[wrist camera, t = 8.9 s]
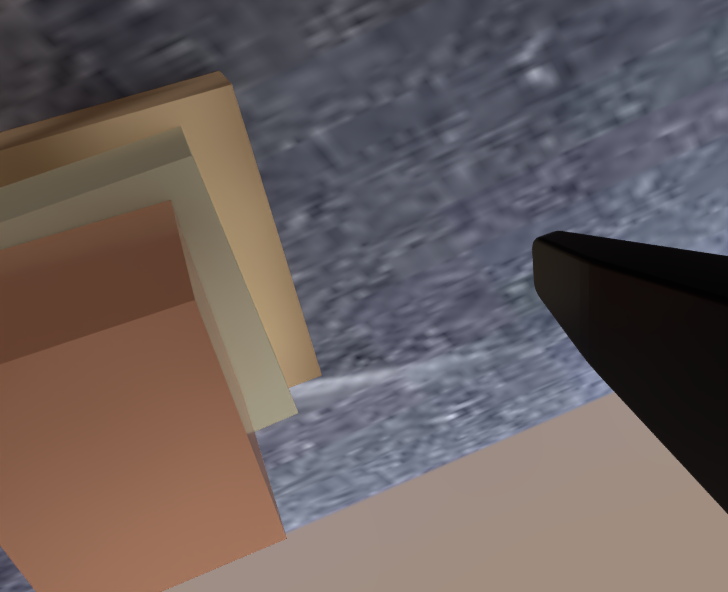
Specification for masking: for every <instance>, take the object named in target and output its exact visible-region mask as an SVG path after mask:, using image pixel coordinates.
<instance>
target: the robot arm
mask: <svg viewBox="0 0 728 592" xmlns="http://www.w3.org/2000/svg"><path fill="white" fill-rule="evenodd" d="M532 255H533V274H534V285H535V289H536V292H537V294H538V296H539V297H540V299H541V300H542V301H543V303H544V304H545V305H546V307H547V308H548V310H549V311H550V312H551V314H552V315H553V316H554V318H555V319H556V320H557V322H558V323H559V325H560V326H561V327H562V329H563V330H564V331H565V333H566V334H567V335H568V337H569V338H570V340H571V341H572V342H573V344H574V345H575V346H576V348H577V349H578V350H579V352H580V353H581V354H582V356H583V357H584V358H585V360H586V361H587V362H588V363H589V364H590V366H591V367H592V368H593V369H594V370H595V371H596V372H597V374H598V375H599V376H600V377H601V378H602V379H603V380H604V381H605V382H606V383H607V384H608V385H609V386H610V388H611V389H612V390H613V391H614V392H615V393H616V394H617V395H618V396H619V397H620V398H621V399H622V401H624V403H625V404H626V405H627V406H628V407H629V408H630V409H631V410H632V411H633V412H634V413H635V414H636V416H637V417H638V418H639V419H640V420H641V421H642V422H643V423H644V424H645V425H646V426H647V427H648V428H649V429H650V431H651V432H652V433H654V435H655V436H656V437H657V438H658V439H659V440H660V441H661V443H662V444H663V445H664V446H665V447H666V448H667V449H668V450H669V451H670V452H671V453H672V454H673V455H674V456H675V457H676V459H677V460H678V461H679V462H680V463H681V464H682V465H683V466H684V467H685V468H686V469H687V470H688V472H689V473H690V474H691V475H692V476H693V477H694V478H695V479H696V480H697V481H698V482H699V484H701V486H702V487H703V488H704V489H705V490H706V491H707V492H708V493H709V494H710V495H711V496H712V497H713V499H714V500H715V501H716V502H717V503H718V504H719V505H720V506H721V507H722V508H723V509H724V510H725V512H726V513H727V514H728V256H724V255H717V254H711V253H704V252H698V251H691V250H684V249H678V248H671V247H664V246H658V245H651V244H645V243H638V242H631V241H625V240H618V239H611V238H605V237H598V236H592V235H585V234H578V233H572V232H565V231H554V232H551V233H549V234H546V235H543V236H540V237H538V238H536V239H535V241H534V242H533V246H532Z"/></svg>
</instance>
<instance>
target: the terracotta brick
mask: <svg viewBox="0 0 728 592" xmlns="http://www.w3.org/2000/svg"><path fill="white" fill-rule="evenodd" d="M285 539H287V538H286V534H285V531H284V528H283V524H282V521H281V518H280V514H279V511H278V508H277V504H276V501H275V498H274V495H273V491H272V488H271V485H270V481H269V478H268V475H267V471H266V468H265V465H264V462H263V458H262V455H261V452H260V448H259V445H258V442H257V438H256V435H255V432H254V429H253V425H252V422H251V419H250V415H249V412H248V409H247V405H246V402H245V399H244V396H243V393H242V391H241V388H240V385H239V383H238V380H237V377H236V375H235V372H234V369H233V367H232V364H231V361H230V358H229V356H228V353H227V350H226V348H225V345H224V342H223V340H222V337H221V334H220V332H219V329H218V326H217V323H216V321H215V318H214V315H213V313H212V310H211V307H210V305H209V302H208V299H207V297H206V294H205V291H204V288H203V286H202V283H201V280H200V278H199V275H198V272H197V270H196V267H195V264H194V262H193V259H192V256H191V253H190V251H189V248H188V245H187V243H186V240H185V237H184V235H183V232H182V229H181V227H180V224H179V221H178V218H177V216H176V213H175V210H174V208H173V205H172V202H171V200H169V201H165V202H162V203H159V204H155V205H152V206H148V207H145V208H142V209H138V210H135V211H131V212H128V213H125V214H121V215H118V216H115V217H111V218H108V219H104V220H101V221H98V222H94V223H91V224H87V225H84V226H81V227H77V228H74V229H70V230H67V231H64V232H60V233H57V234H53V235H50V236H47V237H43V238H40V239H36V240H33V241H30V242H26V243H23V244H20V245H16V246H13V247H9V248H6V249H3V250H0V546H1V547H2V548H3V550H4V551H5V552H6V553H7V555H8V556H9V557H10V559H11V560H12V561H13V563H14V564H15V565H16V566H17V568H18V569H19V570H20V572H21V573H22V574H23V575H24V577H25V578H26V579H27V581H28V582H29V583H30V584H31V586H32V587H33V588H34V590H35V591H36V592H162V591H164V590H166V589H169V588H171V587H173V586H176V585H178V584H180V583H183V582H185V581H188V580H190V579H192V578H195V577H197V576H199V575H202V574H204V573H207V572H209V571H211V570H214V569H216V568H218V567H221V566H223V565H225V564H228V563H230V562H232V561H235V560H237V559H240V558H242V557H244V556H247V555H249V554H251V553H254V552H256V551H258V550H261V549H263V548H266V547H268V546H270V545H273V544H275V543H277V542H280V541H282V540H285Z"/></svg>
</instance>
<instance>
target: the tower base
mask: <svg viewBox="0 0 728 592" xmlns="http://www.w3.org/2000/svg"><path fill="white" fill-rule="evenodd" d="M179 126H181V128H182V130H183V133H184V135H185V138H186V140H187V143H188V145H189V147H190V150H191V152H192V155H193V157H194V159H195V162H196V164H197V167H198V169H199V172H200V174H201V176H202V179H203V181H204V184H205V186H206V188H207V191H208V193H209V196H210V198H211V201H212V203H213V205H214V208H215V210H216V213H217V215H218V217H219V220H220V222H221V225H222V227H223V230H224V232H225V234H226V237H227V239H228V242H229V244H230V246H231V249H232V251H233V254H234V256H235V259H236V261H237V263H238V266H239V268H240V271H241V273H242V275H243V278H244V280H245V283H246V285H247V288H248V290H249V292H250V295H251V297H252V300H253V302H254V304H255V307H256V309H257V312H258V314H259V317H260V319H261V321H262V324H263V326H264V329H265V331H266V334H267V336H268V338H269V341H270V343H271V346H272V348H273V350H274V353H275V355H276V358H277V360H278V363H279V365H280V368H281V370H282V373H283V375H284V378H285V381H286V383H287V386H288V388H290V387H293V386H295V385H298V384H300V383H303V382H306V381H308V380H311V379H313V378H316V377H319V376H321V372H320V368H319V365H318V362H317V359H316V355H315V352H314V349H313V346H312V342H311V339H310V336H309V333H308V330H307V326H306V323H305V320H304V317H303V313H302V310H301V307H300V304H299V300H298V297H297V294H296V291H295V287H294V284H293V281H292V278H291V274H290V271H289V268H288V265H287V261H286V258H285V255H284V252H283V249H282V245H281V242H280V239H279V236H278V232H277V229H276V226H275V223H274V219H273V216H272V213H271V210H270V206H269V203H268V200H267V197H266V193H265V190H264V187H263V184H262V181H261V177H260V174H259V171H258V168H257V164H256V161H255V158H254V155H253V151H252V148H251V145H250V142H249V138H248V135H247V132H246V129H245V125H244V122H243V119H242V116H241V113H240V109H239V106H238V103H237V100H236V96H235V93H234V90H233V87H232V84H231V83H230V82H229V81H228V80H227V78H226V77H225V76H224V75H223V74H222V73H221V72H220V71H217V72H213V73H209V74H206V75H202V76H199V77H195V78H192V79H188V80H185V81H181V82H177V83H174V84H170V85H167V86H163V87H160V88H156V89H153V90H149V91H145V92H142V93H138V94H135V95H131V96H128V97H124V98H121V99H117V100H113V101H110V102H106V103H103V104H99V105H96V106H92V107H88V108H85V109H81V110H78V111H74V112H71V113H67V114H64V115H60V116H56V117H53V118H49V119H46V120H42V121H39V122H35V123H32V124H28V125H24V126H21V127H17V128H14V129H10V130H7V131H3V132H0V188H1V187H4V186H7V185H9V184H12V183H15V182H18V181H21V180H24V179H27V178H30V177H33V176H36V175H39V174H42V173H45V172H47V171H50V170H53V169H56V168H59V167H62V166H65V165H68V164H71V163H74V162H77V161H80V160H83V159H85V158H88V157H91V156H94V155H97V154H100V153H103V152H106V151H109V150H112V149H115V148H118V147H121V146H124V145H126V144H129V143H132V142H135V141H138V140H141V139H144V138H147V137H150V136H153V135H156V134H159V133H162V132H164V131H167V130H170V129H173V128H176V127H179Z"/></svg>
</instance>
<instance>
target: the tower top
mask: <svg viewBox="0 0 728 592" xmlns="http://www.w3.org/2000/svg"><path fill="white" fill-rule="evenodd" d="M169 200H171V202H172V205H173V208H174V210H175V213H176V216H177V218H178V221H179V224H180V227H181V229H182V232H183V235H184V237H185V240H186V243H187V245H188V248H189V251H190V253H191V256H192V259H193V262H194V264H195V267H196V270H197V272H198V275H199V278H200V280H201V283H202V286H203V288H204V291H205V294H206V297H207V299H208V302H209V305H210V307H211V310H212V313H213V315H214V318H215V321H216V323H217V326H218V329H219V332H220V334H221V337H222V340H223V342H224V345H225V348H226V350H227V353H228V356H229V358H230V361H231V364H232V367H233V369H234V372H235V375H236V377H237V380H238V383H239V385H240V388H241V391H242V393H243V396H244V399H245V402H246V405H247V409H248V412H249V415H250V419H251V422H252V425H253V429H254V432H255V431H257V430H260V429H262V428H264V427H267V426H269V425H271V424H274V423H276V422H278V421H281V420H283V419H285V418H288V417H290V416H292V415H294V414H297V413H298V411H297V408H296V406H295V403H294V401H293V398H292V396H291V393H290V391H289V388H288V386H287V383H286V381H285V378H284V375H283V373H282V370H281V368H280V365H279V363H278V360H277V358H276V355H275V353H274V350H273V348H272V346H271V343H270V341H269V338H268V336H267V334H266V331H265V329H264V326H263V324H262V321H261V319H260V317H259V314H258V312H257V309H256V307H255V304H254V302H253V300H252V297H251V295H250V292H249V290H248V288H247V285H246V283H245V280H244V278H243V275H242V273H241V271H240V268H239V266H238V263H237V261H236V259H235V256H234V254H233V251H232V249H231V246H230V244H229V242H228V239H227V237H226V234H225V232H224V230H223V227H222V225H221V222H220V220H219V217H218V215H217V213H216V210H215V208H214V205H213V203H212V201H211V198H210V196H209V193H208V191H207V188H206V186H205V184H204V181H203V179H202V176H201V174H200V172H199V169H198V167H197V164H196V162H195V159H194V157H193V155H192V152H191V150H190V147H189V145H188V143H187V140H186V138H185V135H184V133H183V130H182V128H181V126H179V127H176V128H173V129H170V130H167V131H164V132H162V133H159V134H156V135H153V136H150V137H147V138H144V139H141V140H138V141H135V142H132V143H129V144H126V145H124V146H121V147H118V148H115V149H112V150H109V151H106V152H103V153H100V154H97V155H94V156H91V157H88V158H85V159H83V160H80V161H77V162H74V163H71V164H68V165H65V166H62V167H59V168H56V169H53V170H50V171H47V172H45V173H42V174H39V175H36V176H33V177H30V178H27V179H24V180H21V181H18V182H15V183H12V184H9V185H7V186H4V187H1V188H0V250H3V249H6V248H9V247H13V246H16V245H20V244H23V243H26V242H30V241H33V240H36V239H40V238H43V237H47V236H50V235H53V234H57V233H60V232H64V231H67V230H70V229H74V228H77V227H81V226H84V225H87V224H91V223H94V222H98V221H101V220H104V219H108V218H111V217H115V216H118V215H121V214H125V213H128V212H131V211H135V210H138V209H142V208H145V207H148V206H152V205H155V204H159V203H162V202H165V201H169Z"/></svg>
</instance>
